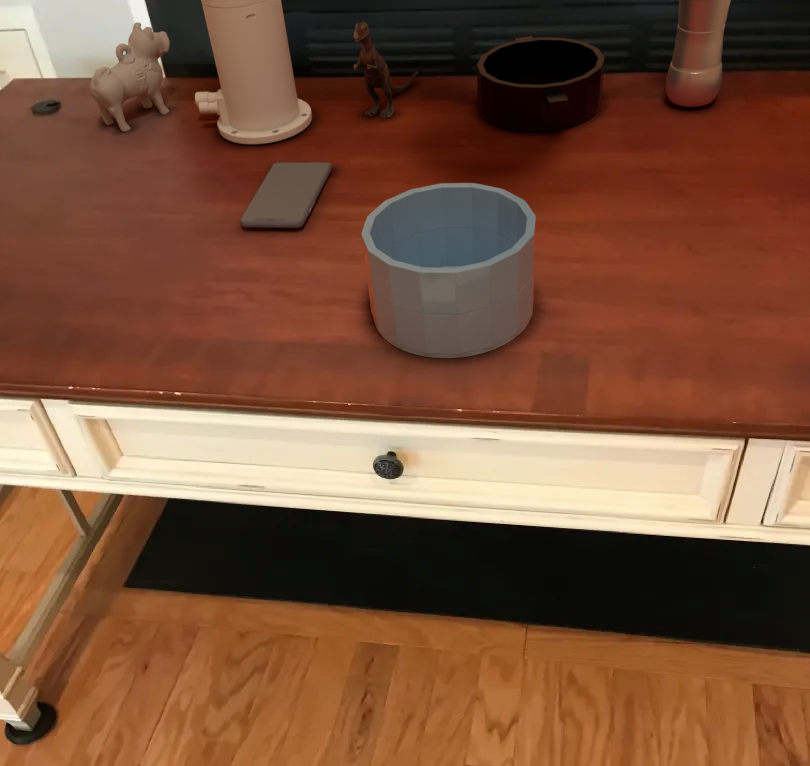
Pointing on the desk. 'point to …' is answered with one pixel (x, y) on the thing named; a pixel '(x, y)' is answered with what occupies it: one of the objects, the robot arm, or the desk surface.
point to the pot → (450, 268)
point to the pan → (540, 84)
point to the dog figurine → (132, 75)
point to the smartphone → (286, 195)
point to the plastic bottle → (697, 53)
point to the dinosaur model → (376, 72)
